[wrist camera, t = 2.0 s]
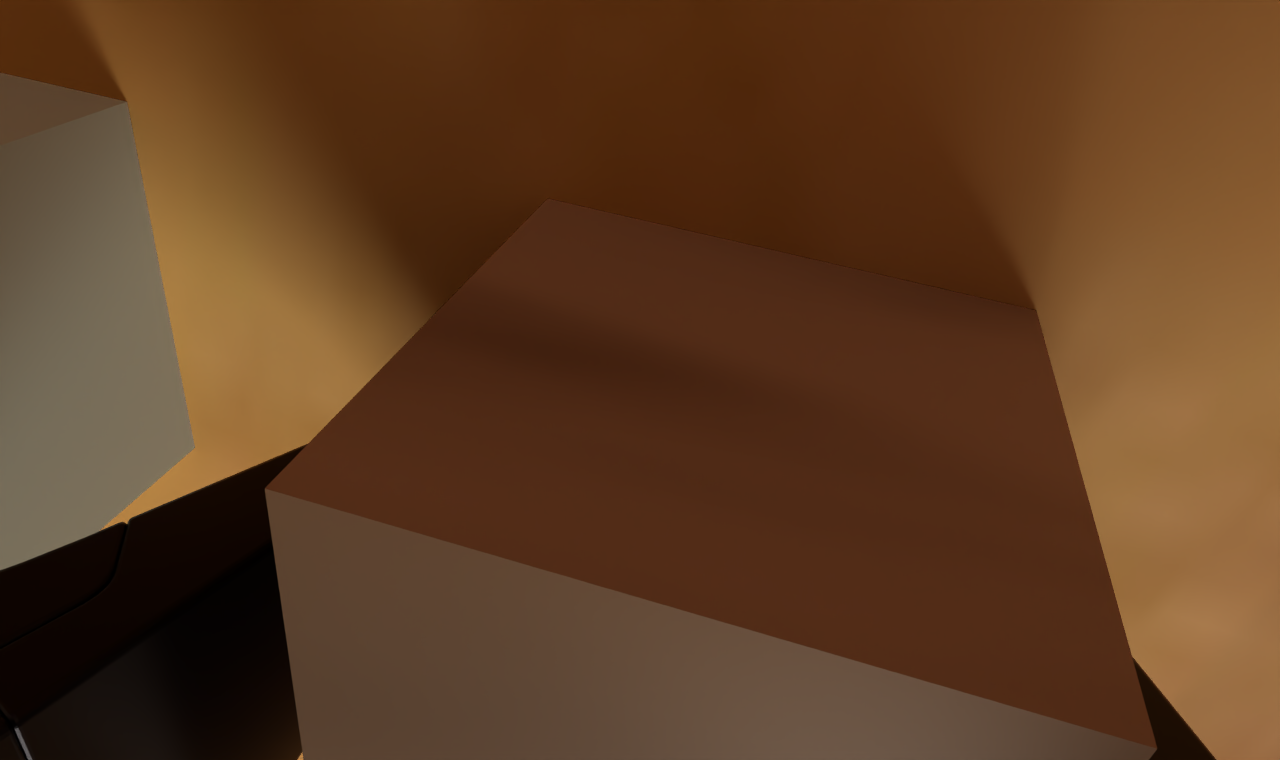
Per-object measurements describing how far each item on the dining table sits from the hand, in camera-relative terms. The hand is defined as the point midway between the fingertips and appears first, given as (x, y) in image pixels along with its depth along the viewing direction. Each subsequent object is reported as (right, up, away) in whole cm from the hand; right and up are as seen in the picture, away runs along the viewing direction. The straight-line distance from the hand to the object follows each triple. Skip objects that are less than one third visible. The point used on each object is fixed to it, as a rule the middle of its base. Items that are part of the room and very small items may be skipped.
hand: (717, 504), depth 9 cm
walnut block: (0, +1, +1) cm, 1 cm away
